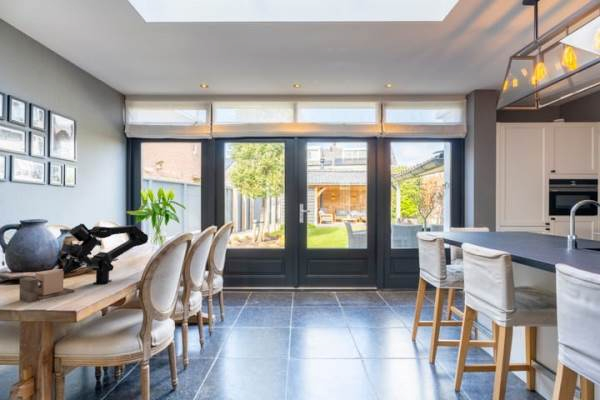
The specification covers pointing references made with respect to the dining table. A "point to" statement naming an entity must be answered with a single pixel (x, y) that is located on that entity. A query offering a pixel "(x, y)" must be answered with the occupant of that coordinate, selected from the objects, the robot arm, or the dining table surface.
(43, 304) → the dining table surface
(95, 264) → the robot arm
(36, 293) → the stop block
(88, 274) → the dining table surface
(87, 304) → the dining table surface
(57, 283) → the pink box
